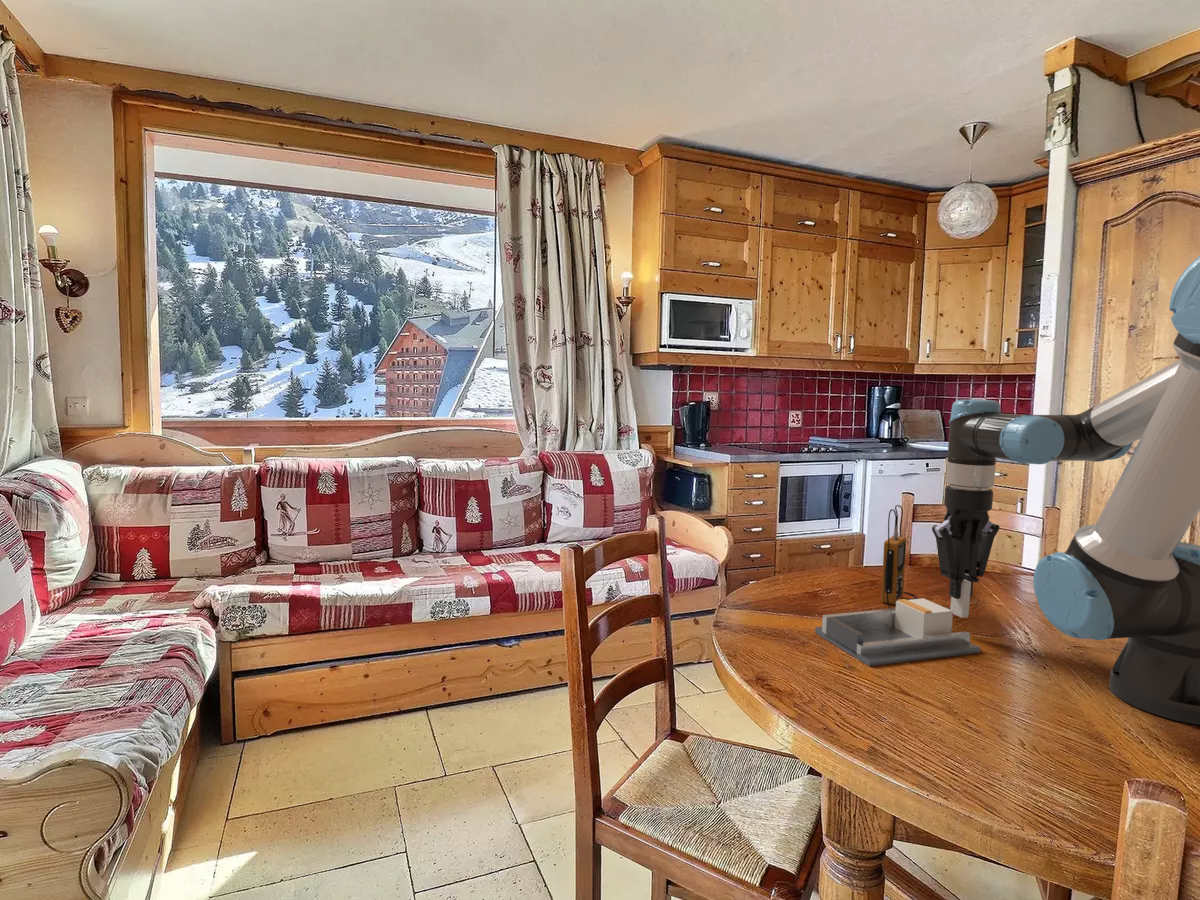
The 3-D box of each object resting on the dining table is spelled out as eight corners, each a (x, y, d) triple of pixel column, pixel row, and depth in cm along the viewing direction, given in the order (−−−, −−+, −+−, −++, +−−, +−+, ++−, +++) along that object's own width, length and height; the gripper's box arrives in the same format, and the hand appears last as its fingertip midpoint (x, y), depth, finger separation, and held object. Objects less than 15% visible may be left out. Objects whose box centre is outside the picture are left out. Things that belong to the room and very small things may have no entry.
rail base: (979, 652, 113) (981, 629, 113) (869, 666, 107) (870, 642, 107) (915, 622, 128) (916, 601, 127) (815, 632, 122) (815, 611, 121)
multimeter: (929, 618, 130) (935, 517, 128) (875, 607, 136) (880, 510, 134) (944, 599, 141) (949, 506, 139) (894, 590, 147) (898, 501, 145)
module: (951, 638, 117) (953, 609, 116) (922, 641, 115) (924, 612, 115) (922, 624, 123) (923, 596, 123) (894, 627, 122) (896, 599, 121)
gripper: (981, 482, 124) (971, 604, 127) (923, 484, 120) (914, 610, 123) (1016, 489, 117) (1005, 619, 119) (955, 491, 113) (945, 625, 116)
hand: (959, 614), depth 121 cm, fingers closed
